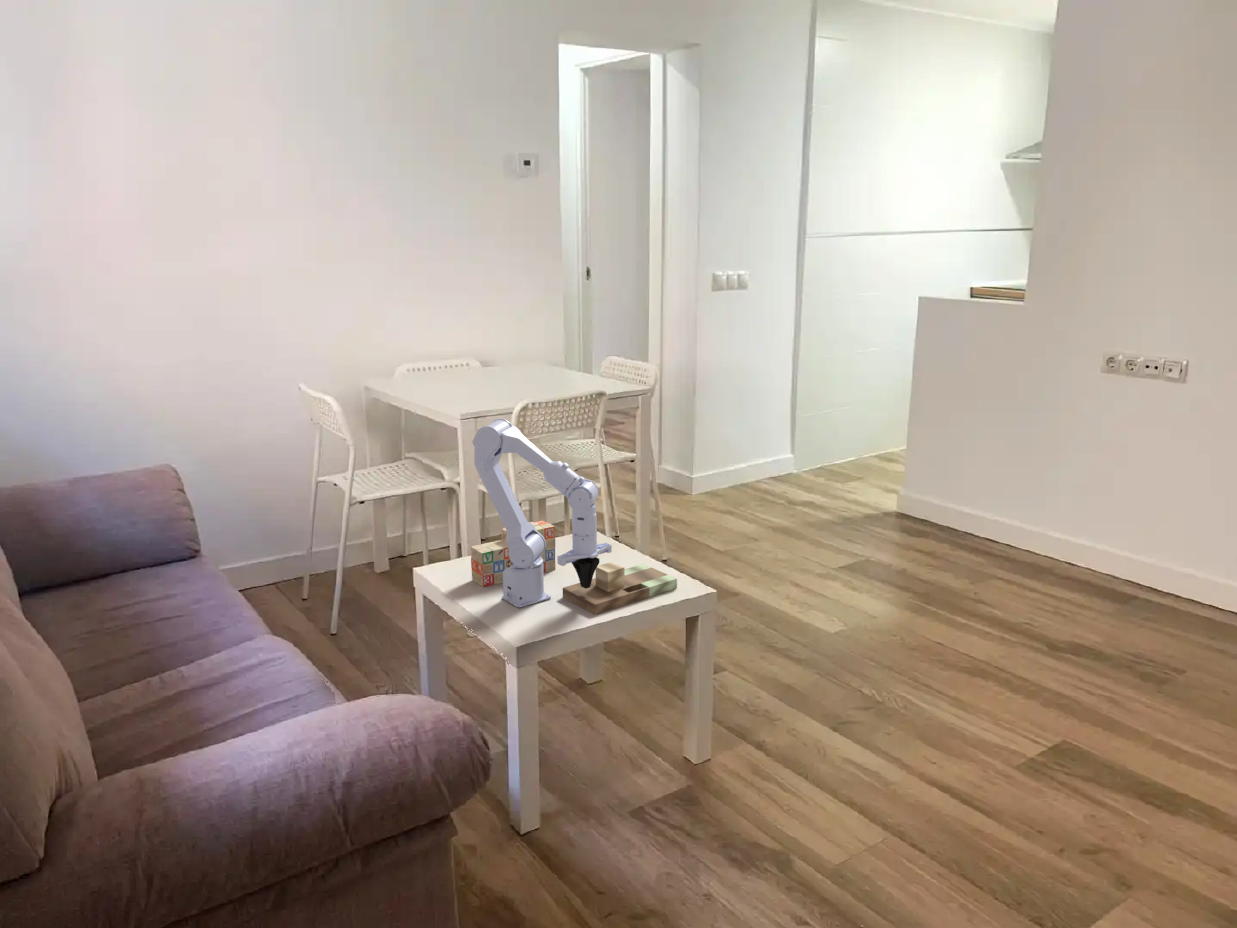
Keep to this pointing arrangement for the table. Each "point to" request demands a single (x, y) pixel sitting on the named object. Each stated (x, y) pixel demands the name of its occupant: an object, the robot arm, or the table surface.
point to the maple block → (610, 576)
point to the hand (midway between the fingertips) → (585, 586)
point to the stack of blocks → (507, 556)
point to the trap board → (621, 590)
